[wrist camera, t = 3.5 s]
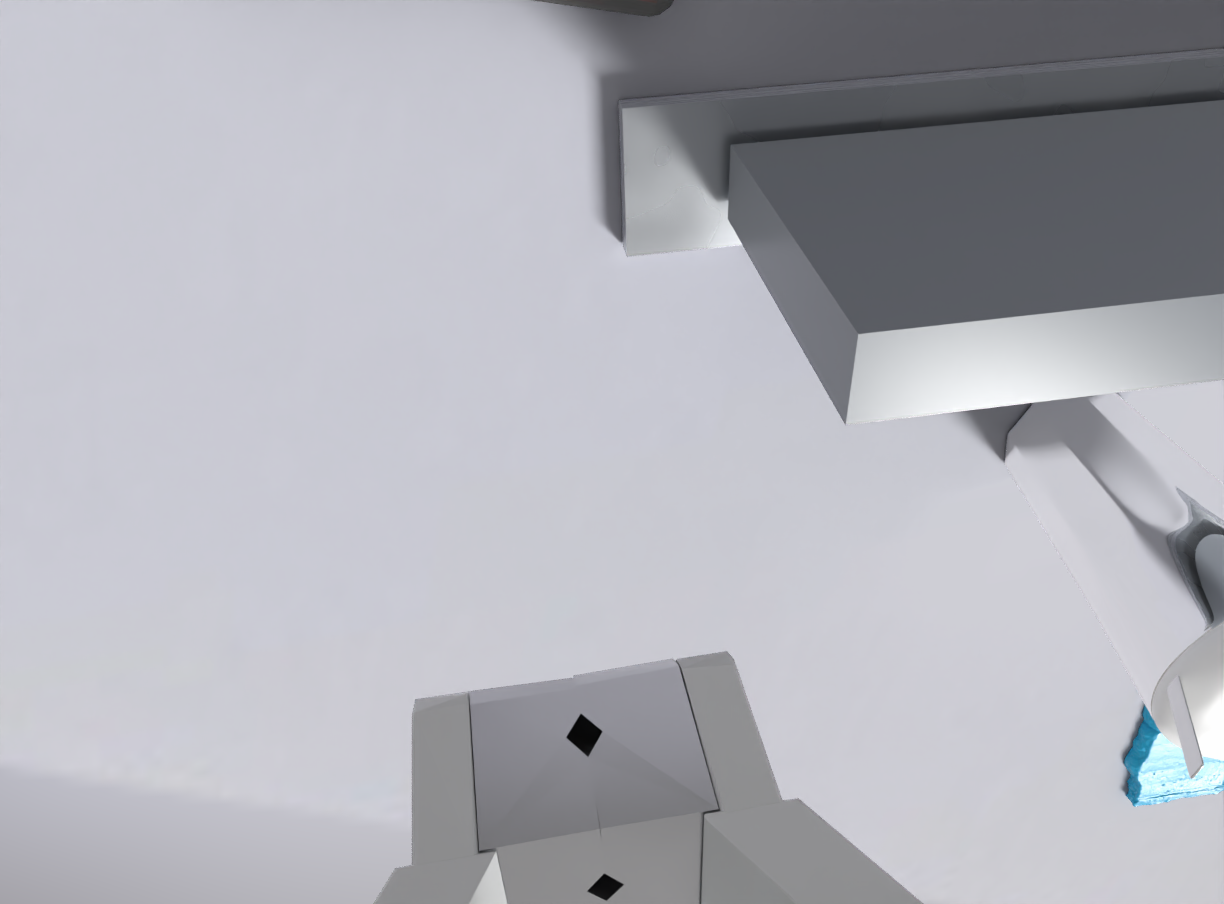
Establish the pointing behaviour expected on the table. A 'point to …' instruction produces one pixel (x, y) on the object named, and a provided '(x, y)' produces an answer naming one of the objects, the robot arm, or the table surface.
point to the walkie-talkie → (620, 5)
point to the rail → (856, 126)
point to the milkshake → (1136, 551)
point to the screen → (994, 256)
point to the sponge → (1166, 769)
